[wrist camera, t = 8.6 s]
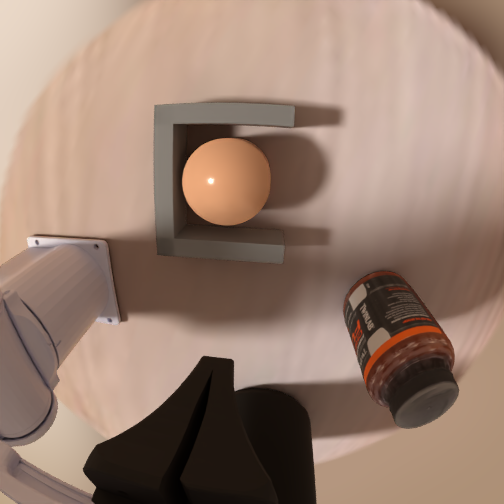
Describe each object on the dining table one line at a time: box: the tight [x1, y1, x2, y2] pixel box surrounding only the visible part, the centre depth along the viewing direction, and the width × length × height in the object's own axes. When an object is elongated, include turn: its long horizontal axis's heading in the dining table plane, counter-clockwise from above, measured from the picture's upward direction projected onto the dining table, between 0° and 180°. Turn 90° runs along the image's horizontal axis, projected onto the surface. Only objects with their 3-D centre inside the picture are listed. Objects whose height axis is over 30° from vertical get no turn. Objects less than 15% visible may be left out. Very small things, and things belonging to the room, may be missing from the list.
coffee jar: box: [235, 388, 316, 504], centre depth 20 cm, size 11×11×18 cm
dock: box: [154, 103, 295, 264], centre depth 18 cm, size 8×9×3 cm
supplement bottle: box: [343, 271, 459, 429], centre depth 17 cm, size 6×6×11 cm
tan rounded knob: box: [182, 138, 271, 225], centre depth 18 cm, size 5×5×4 cm
